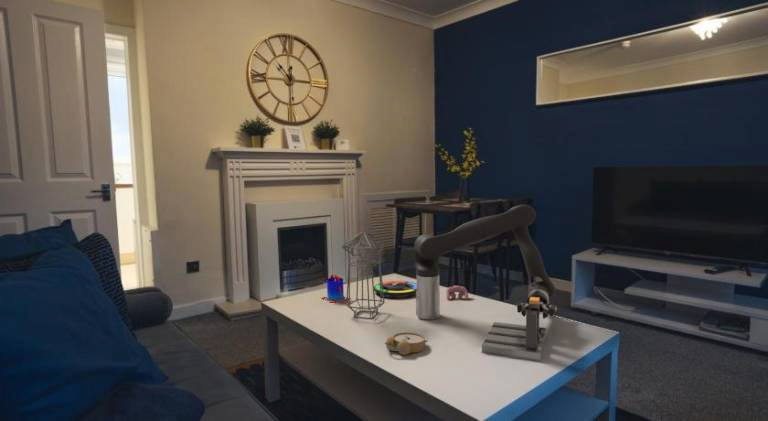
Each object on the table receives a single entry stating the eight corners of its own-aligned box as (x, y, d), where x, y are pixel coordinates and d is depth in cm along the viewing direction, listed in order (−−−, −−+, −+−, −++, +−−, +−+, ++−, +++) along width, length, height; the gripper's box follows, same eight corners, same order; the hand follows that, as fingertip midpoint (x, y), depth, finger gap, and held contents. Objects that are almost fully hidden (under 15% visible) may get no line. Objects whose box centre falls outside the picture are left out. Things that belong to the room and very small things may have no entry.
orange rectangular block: (539, 328, 152) (539, 297, 151) (538, 332, 149) (538, 300, 148) (530, 327, 153) (530, 296, 152) (529, 330, 150) (529, 299, 149)
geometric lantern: (341, 318, 176) (337, 233, 174) (357, 308, 190) (355, 229, 188) (376, 322, 170) (373, 234, 168) (391, 311, 184) (388, 229, 182)
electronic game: (405, 302, 196) (405, 292, 196) (364, 295, 209) (364, 286, 209) (428, 290, 216) (428, 280, 215) (389, 284, 228) (389, 275, 228)
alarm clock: (432, 338, 146) (403, 343, 135) (431, 352, 146) (401, 359, 135) (407, 330, 154) (378, 334, 143) (406, 344, 154) (376, 349, 143)
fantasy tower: (318, 298, 204) (317, 274, 203) (340, 294, 212) (339, 270, 210) (331, 304, 195) (330, 278, 194) (353, 299, 202) (352, 274, 201)
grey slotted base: (545, 334, 153) (546, 297, 152) (540, 361, 133) (540, 317, 131) (494, 328, 161) (494, 292, 160) (481, 352, 140) (481, 311, 139)
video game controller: (467, 301, 200) (466, 286, 202) (468, 299, 196) (467, 284, 198) (446, 301, 200) (445, 286, 203) (446, 299, 196) (446, 284, 199)
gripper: (518, 289, 166) (512, 302, 151) (558, 293, 160) (556, 306, 145) (518, 308, 167) (512, 322, 151) (558, 312, 161) (556, 328, 145)
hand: (533, 314), depth 148 cm, fingers open, 6 cm apart
